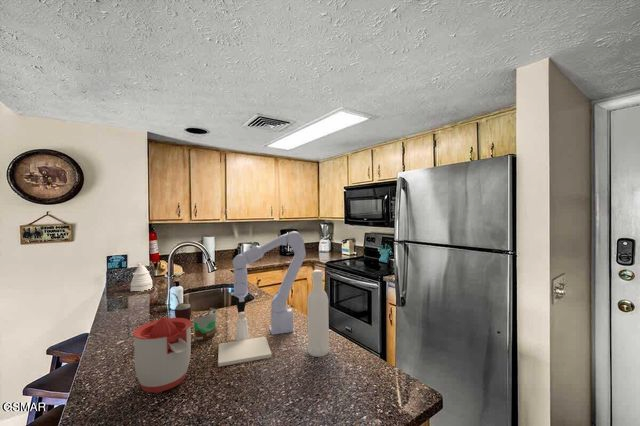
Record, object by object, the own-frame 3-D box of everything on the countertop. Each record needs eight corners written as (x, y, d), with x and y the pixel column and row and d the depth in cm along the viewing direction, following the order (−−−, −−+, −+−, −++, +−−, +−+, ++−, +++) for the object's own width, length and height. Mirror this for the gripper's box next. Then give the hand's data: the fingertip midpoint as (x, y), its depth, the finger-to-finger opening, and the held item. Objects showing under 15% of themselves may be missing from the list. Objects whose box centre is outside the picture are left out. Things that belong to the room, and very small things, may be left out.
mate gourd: (191, 317, 141) (191, 287, 141) (189, 323, 133) (189, 291, 133) (175, 319, 138) (174, 288, 138) (172, 325, 131) (172, 293, 131)
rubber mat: (265, 339, 115) (265, 336, 115) (271, 357, 101) (271, 353, 101) (218, 346, 109) (218, 343, 109) (218, 366, 95) (218, 363, 95)
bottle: (304, 354, 102) (303, 272, 102) (312, 345, 109) (311, 268, 109) (324, 358, 99) (323, 273, 99) (332, 348, 106) (331, 269, 106)
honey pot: (125, 291, 190) (125, 264, 190) (140, 286, 203) (140, 261, 203) (142, 292, 188) (142, 265, 188) (156, 287, 201) (156, 261, 201)
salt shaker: (236, 343, 112) (236, 315, 112) (234, 338, 116) (233, 311, 116) (250, 340, 114) (250, 313, 114) (247, 335, 119) (247, 309, 119)
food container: (207, 343, 112) (206, 318, 112) (193, 342, 113) (192, 317, 113) (223, 331, 124) (223, 308, 124) (210, 330, 125) (210, 307, 125)
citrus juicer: (154, 408, 75) (153, 333, 75) (123, 387, 84) (122, 320, 84) (206, 378, 88) (205, 314, 88) (174, 363, 97) (173, 305, 97)
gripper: (230, 279, 127) (231, 309, 127) (231, 287, 114) (231, 320, 114) (246, 278, 130) (247, 307, 130) (249, 285, 116) (249, 318, 116)
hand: (241, 313), depth 122 cm, fingers closed
